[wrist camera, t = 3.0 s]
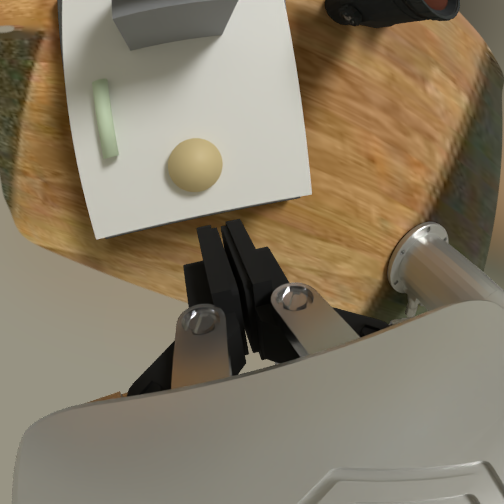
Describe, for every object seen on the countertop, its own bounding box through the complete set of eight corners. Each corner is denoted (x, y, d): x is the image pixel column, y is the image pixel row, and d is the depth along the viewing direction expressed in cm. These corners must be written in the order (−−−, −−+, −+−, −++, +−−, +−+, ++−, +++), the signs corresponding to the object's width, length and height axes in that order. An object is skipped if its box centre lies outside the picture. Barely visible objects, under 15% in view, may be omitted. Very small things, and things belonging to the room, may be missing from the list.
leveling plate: (305, 191, 26) (382, 229, 16) (100, 234, 24) (53, 301, 13) (270, -33, 18) (321, -102, 7) (67, -1, 15) (17, -60, 5)
